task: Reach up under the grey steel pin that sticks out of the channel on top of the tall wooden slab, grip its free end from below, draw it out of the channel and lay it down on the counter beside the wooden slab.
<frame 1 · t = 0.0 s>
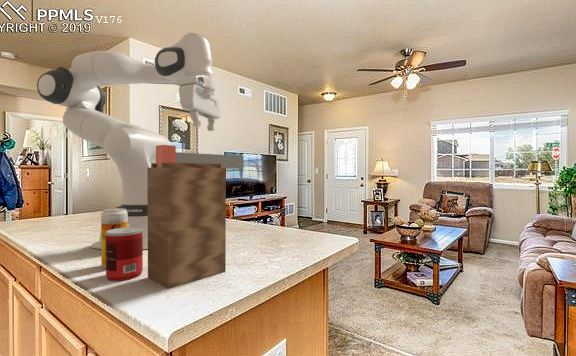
hand: (204, 128, 98), 39 cm above the worktop, tool pointing down, fingers open, 8 cm apart
beer can: (114, 266, 81), on the worktop
wooden slab: (187, 274, 74), on the worktop
pin: (208, 168, 78), point 26 cm above the worktop, touching wooden slab
canned food: (124, 276, 73), on the worktop
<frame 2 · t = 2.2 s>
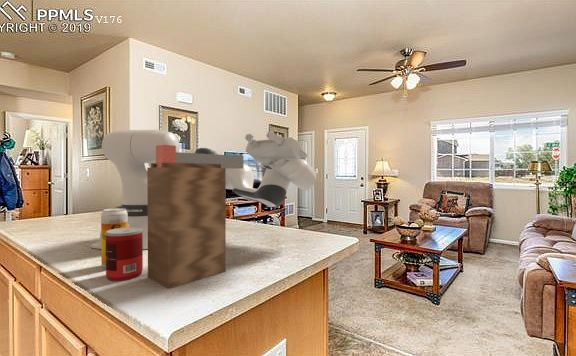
hand: (257, 134, 91), 36 cm above the worktop, tool pointing upward, fingers open, 8 cm apart
nothing on the worktop moved.
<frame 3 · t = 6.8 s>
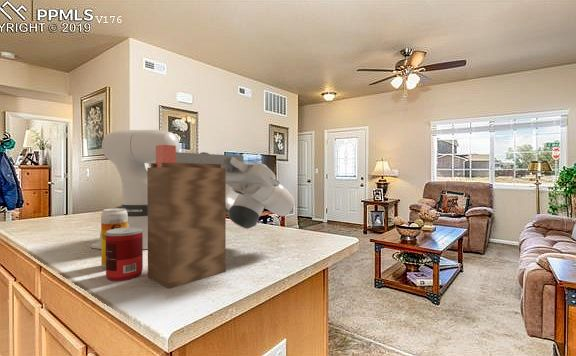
hand: (224, 159, 82), 28 cm above the worktop, tool pointing upward, fingers closed on pin, 3 cm apart
pin: (208, 168, 78), point 26 cm above the worktop, touching wooden slab, gripper
everything else where it was.
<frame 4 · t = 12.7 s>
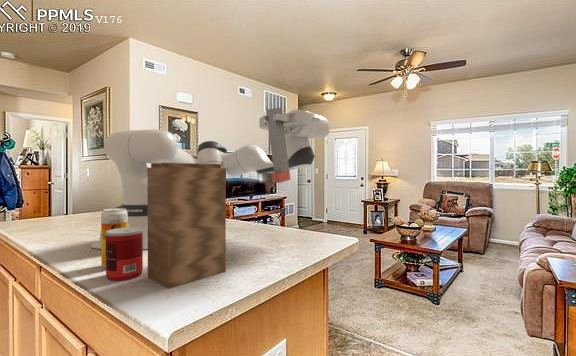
hand: (269, 117, 94), 42 cm above the worktop, tool horizontal, fingers closed on pin, 3 cm apart
pin: (281, 140, 99), point 35 cm above the worktop, tilted 101°, touching gripper
everything else where it was.
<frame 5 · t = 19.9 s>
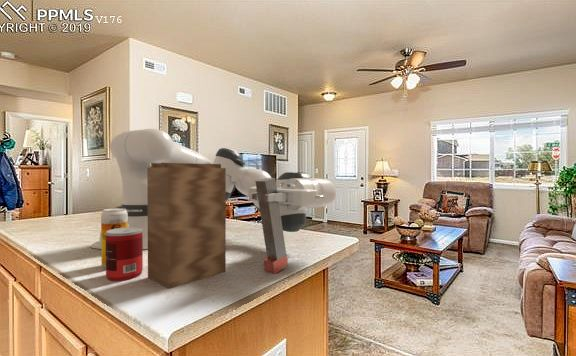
hand: (259, 197, 73), 19 cm above the worktop, tool horizontal, fingers closed on pin, 3 cm apart
pin: (275, 216, 78), point 14 cm above the worktop, tilted 101°, touching gripper
everything else where it was.
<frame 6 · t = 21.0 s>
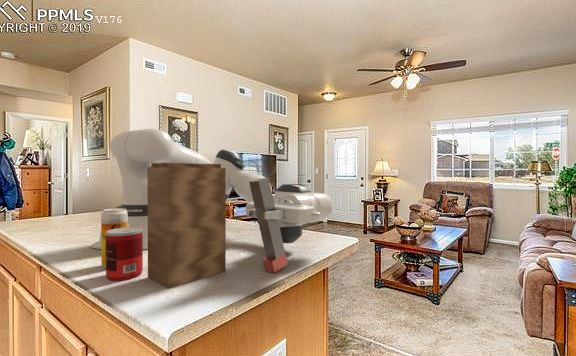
hand: (256, 214, 74), 15 cm above the worktop, tool horizontal, fingers closed on pin, 4 cm apart
pin: (272, 215, 78), point 14 cm above the worktop, tilted 103°, touching gripper
everything else where it was.
when the fingers open (13 cm above the worktop, at t = 22.2 s): pin drops 14 cm, on the worktop.
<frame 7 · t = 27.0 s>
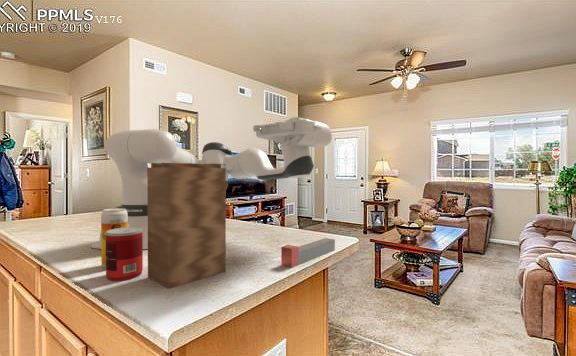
hand: (266, 126, 87), 38 cm above the worktop, tool horizontal, fingers open, 8 cm apart
pin: (313, 255, 91), on the worktop
everything else where it was.
at the end: pin on the worktop; pin touching worktop; pin moved 40.3 cm from its start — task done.
